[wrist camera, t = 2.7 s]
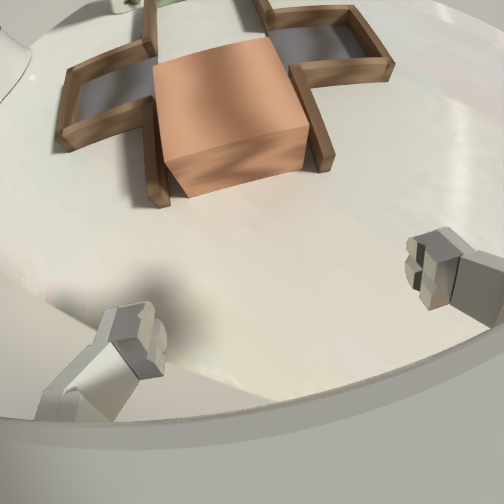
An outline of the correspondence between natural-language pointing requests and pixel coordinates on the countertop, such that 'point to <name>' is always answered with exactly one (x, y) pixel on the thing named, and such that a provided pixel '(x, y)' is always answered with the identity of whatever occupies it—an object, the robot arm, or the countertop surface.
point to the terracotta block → (229, 117)
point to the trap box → (146, 56)
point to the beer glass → (124, 5)
